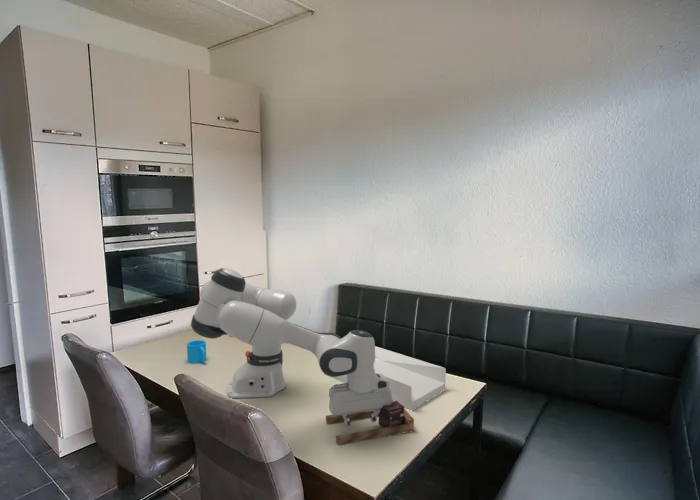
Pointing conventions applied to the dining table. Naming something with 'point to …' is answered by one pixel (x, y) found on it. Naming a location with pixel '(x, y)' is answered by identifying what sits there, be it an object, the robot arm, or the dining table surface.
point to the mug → (196, 351)
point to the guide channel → (370, 434)
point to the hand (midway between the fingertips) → (360, 423)
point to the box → (391, 415)
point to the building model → (407, 377)
